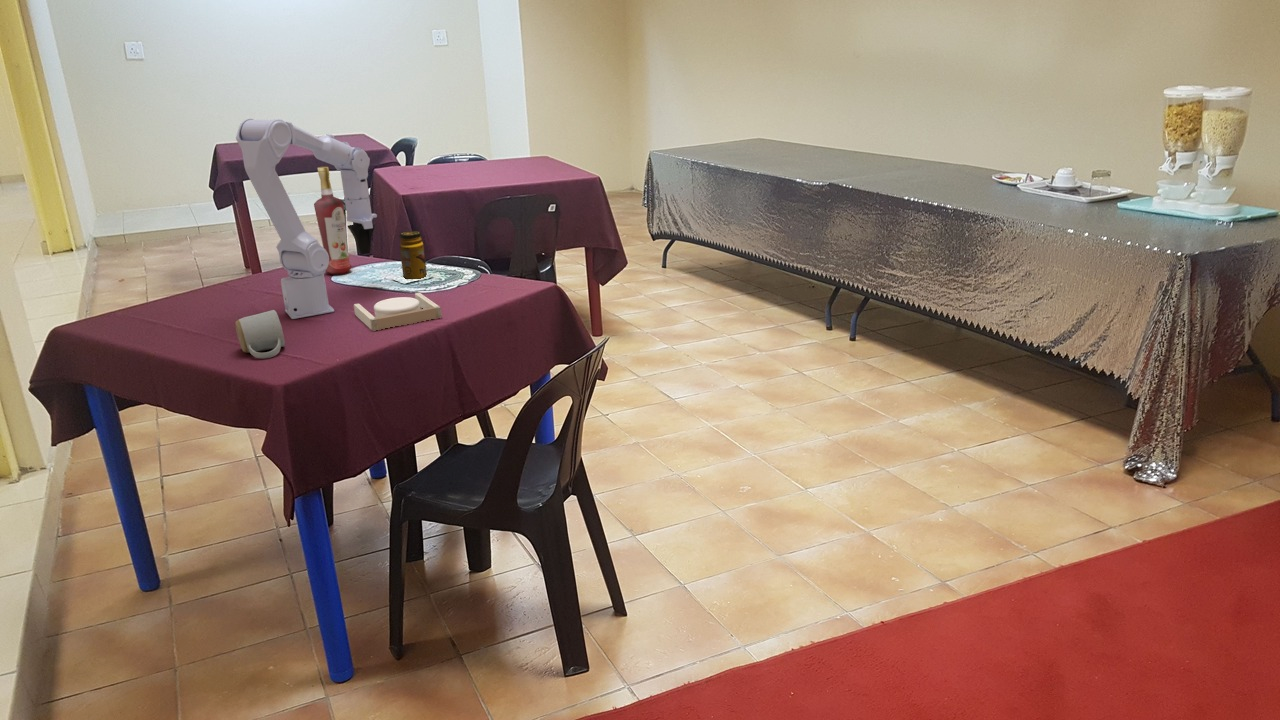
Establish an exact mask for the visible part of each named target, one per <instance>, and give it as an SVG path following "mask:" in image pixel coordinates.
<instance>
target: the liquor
mask: <svg viewBox="0 0 1280 720" xmlns="http://www.w3.org/2000/svg"><path fill="white" fill-rule="evenodd" d="M317 175H318V177H319V179H320V194H321V197H320V198H319V199H317V200H315V202H314V203H313V207H314V212H315V217H316V221H317V226H318V230H319V236H320V240H321V244H322V245H321V246H322V247H323V248H324V249H325V250H326V251H327V253H328V255H329V264H328V267H327V269H326V270H325V271H326V272H328V273H329V274H330V275H332V276H339V275H340V274H341V275H346V274H348V273H349V272H350V271H351V269H352V268H353V266H352V264H351V263H350V256H349V255H350V254H349V248H348V247H349V246H348V238H347V237H348V236H347V227H346V216H345V211H344V210H345V209H344V208H345V207H344V201H343V200H342V199H340V198H338V197H335V196H334V193H333V189H332V185H331V180H330V169H329V166H319V167H317ZM345 273H346V274H345ZM341 275H340V276H341Z"/></svg>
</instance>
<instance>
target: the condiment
mask: <svg viewBox="0 0 1280 720" xmlns="http://www.w3.org/2000/svg"><path fill="white" fill-rule="evenodd" d="M421 235H422V234H421V232H420V231H418V230H416V231H415V230H413V231H403V232H401V233H400V234H399V238H400V239H399V242H400V244H399V253H400V260H401V261H400V262H401V263H400V264H401V269H402V276H403V277H404V278H405V279H421V278H424V277H426V275H427V276H428V274H427V273H428V272H427V262H426V255H425V246H424V242H423V240H422V236H421Z"/></svg>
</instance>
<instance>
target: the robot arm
mask: <svg viewBox="0 0 1280 720" xmlns="http://www.w3.org/2000/svg"><path fill="white" fill-rule="evenodd" d="M235 136H236V137H235V140H236V142H237V144H238V146H239V148H240V150H241V152H242V160H243V166H244V169H245V173H246V175H247V176H248V179H249V181H250V182H251V184H252V186H253V188H254V190H255V192H256V194H257V197H259V200H260V201H261V203H262V205H263V208H264V209H265V212H266V214H267V215H268V217H269V219H270V221H271V223H272V225H273V227H274V229H275V230H276V232H277V234H278V237H279V238H280V240H279V241H278V243H277V245H276V249H277V251H278V254H279V263H280V264H281V267H282V268H283V269H285V270H286V271H287V275H288V276H287V277H282V278H281V279H280V287H281V293H282V297H283V304H284V309H285V311H284V312H285V313H286V314H287V315H288V316H289V318H290V319H291V320H296V319H299V318H300V319H301V318H306V317H312V316H317V315H323V314H330V313H334V312H335V309H334V308H333V306H331V305H330V304H329V297H328V292H327V285H326V280H325V279H326V278H325V274H326V272H327V271H326V269H327V267H328V264H329V255H328V253H327V251H326V250H325V249H324V248H323V245H321V244H320V242H319V241H318V239H317V238H316V237H315V236H313V235H312V234H311V233H309V232H307V231H306V229H305V228H304V226H303V225H304V224H303V223H302V221H301V219H300V216H299V215H298V213H297V211H296V209H295V207H294V205H293V203H292V201H291V199H290V196H289V195H288V193H287V191H286V188H285V187H284V185H283V182H282V181H281V179H280V177H279V175H278V173H277V171H276V167H277V165H278V164H279V163H280V161H282V158H283V157H284V156H285V153H286V152H287V150H288V149H289V146H290V145H293V146H296V147H299V148H301V149H302V148H303V149H304V150H308V151H310V152H312V153H313V156H314V157H315V159H317V160H319V161H321V162H324V163H327V164H329V165H331V166H334V168H335V169H336V170H337V171H338V172H340V176H341V185H342V190H343V196H344V197H343V198H344V204H345V211H346V221H347V222H350V223H353V224H349V225H347V229H348V230H349V231H350V233H351V235H352V237H353V238H354V241H355V244H356V247H357V250H358V252H359V253H360V254H361V255H366V254H370V253H371V245H372V236H373V234H374V230H375V228H376V227H375V225H374V224H373V220H374V218H377V217H378V214H376V213H372V207H371V201H370V192H369V185H368V180H367V179H368V176H369V172H368V171H369V167H370V161H371V159H370V157H369V156H368V153H367V152H366V151H365V150H364V149H363V148H361V147H357V146H355V147H354V146H353V147H352V146H351V145H350V143H349V142H347V141H341V140H338V139H335V135H333V134H326V135H324V134H323V135H319V136H315V135H314V134H312V133H310V132H308V131H307V130H304V129H302V128H300V127H299V126H296V125H294V124H292V122H289V121H284V120H283V119H279V118H278V119H253V118H246V119H244V120H242V121H241V123H240V125H238V130H237V133H236V135H235Z"/></svg>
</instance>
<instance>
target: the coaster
mask: <svg viewBox="0 0 1280 720" xmlns="http://www.w3.org/2000/svg"><path fill="white" fill-rule="evenodd" d="M419 305H420V302H419V301H418V300H417V299H415V297H409V296H403V297H390V298H387V299H382V300H380V301H378V302H376V303H375V304H374V305H373V310H374V313H373V314H374V317H375V318H378V317H383V316H388V315H394V314H399V313H404V312H410V311H415V310H420V309H421V307H420V306H419Z"/></svg>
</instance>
